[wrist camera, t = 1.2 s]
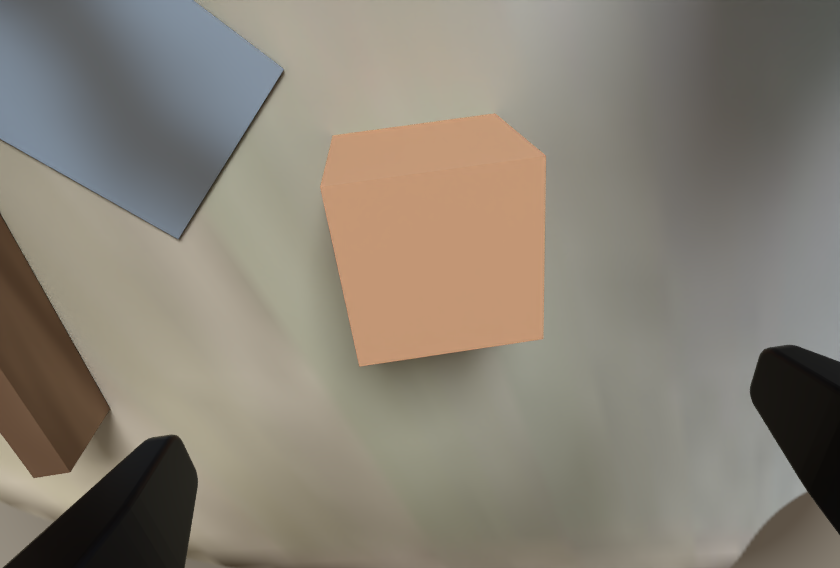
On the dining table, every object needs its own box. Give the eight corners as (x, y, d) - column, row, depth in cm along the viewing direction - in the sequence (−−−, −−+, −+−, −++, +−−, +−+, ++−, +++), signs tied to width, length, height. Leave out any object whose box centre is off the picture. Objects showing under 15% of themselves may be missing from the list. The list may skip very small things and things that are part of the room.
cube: (494, 113, 15) (546, 155, 11) (499, 257, 18) (543, 338, 13) (332, 135, 15) (320, 187, 11) (360, 277, 18) (359, 366, 13)
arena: (501, -359, 11) (547, -480, 8) (516, 347, 20) (539, 399, 17) (-340, -269, 10) (-587, -366, 7) (78, 413, 19) (33, 478, 17)
